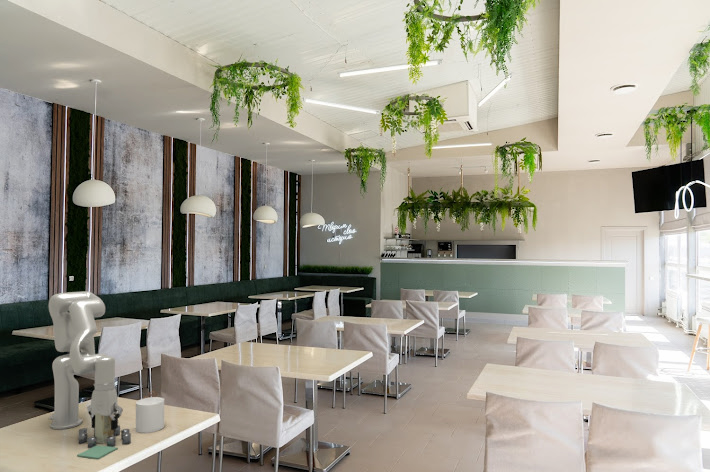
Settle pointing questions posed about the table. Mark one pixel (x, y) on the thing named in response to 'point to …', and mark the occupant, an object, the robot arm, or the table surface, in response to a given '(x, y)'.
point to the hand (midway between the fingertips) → (104, 428)
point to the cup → (149, 415)
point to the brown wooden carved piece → (150, 395)
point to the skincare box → (102, 427)
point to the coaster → (97, 452)
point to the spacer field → (110, 440)
